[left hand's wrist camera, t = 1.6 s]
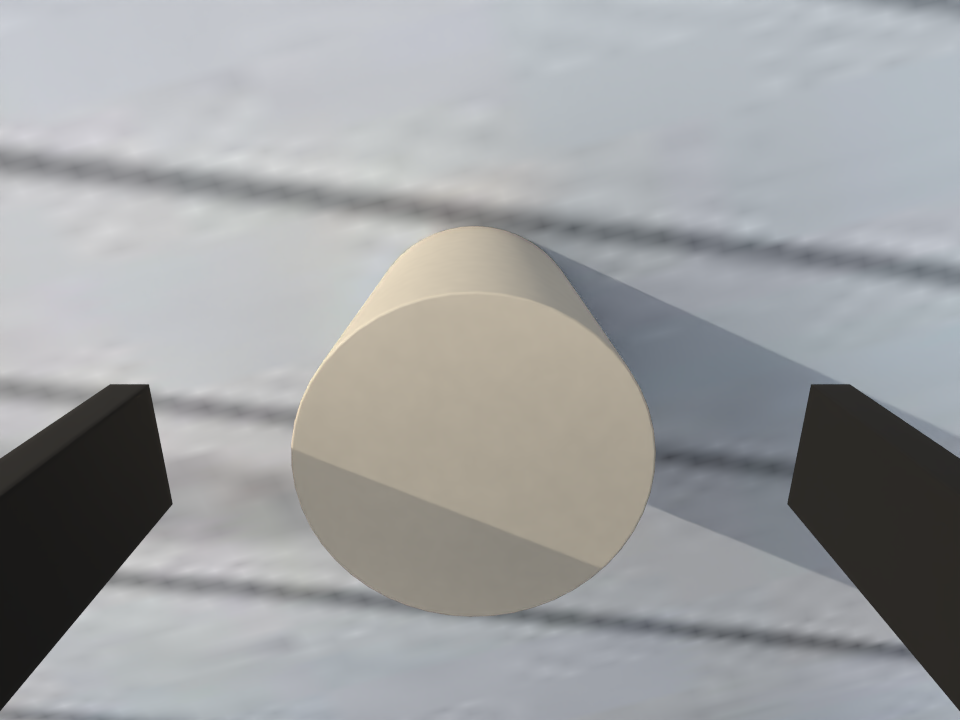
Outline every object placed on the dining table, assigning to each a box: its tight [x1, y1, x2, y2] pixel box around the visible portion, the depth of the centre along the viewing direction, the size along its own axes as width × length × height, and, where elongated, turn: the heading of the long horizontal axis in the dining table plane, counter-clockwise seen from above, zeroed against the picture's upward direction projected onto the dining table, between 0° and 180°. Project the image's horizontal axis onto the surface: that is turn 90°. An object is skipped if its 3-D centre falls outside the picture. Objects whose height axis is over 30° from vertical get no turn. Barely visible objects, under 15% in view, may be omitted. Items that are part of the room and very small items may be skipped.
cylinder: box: [291, 226, 656, 617], centre depth 17 cm, size 7×7×10 cm
